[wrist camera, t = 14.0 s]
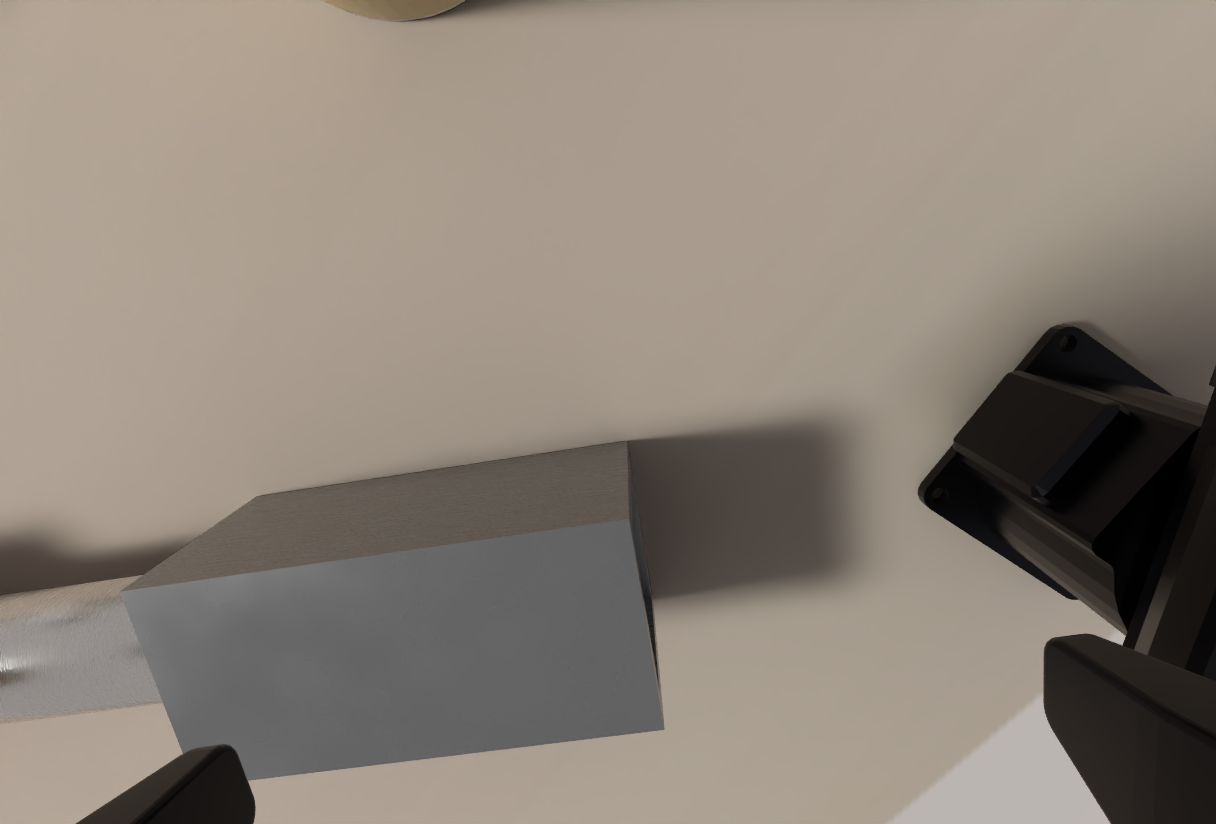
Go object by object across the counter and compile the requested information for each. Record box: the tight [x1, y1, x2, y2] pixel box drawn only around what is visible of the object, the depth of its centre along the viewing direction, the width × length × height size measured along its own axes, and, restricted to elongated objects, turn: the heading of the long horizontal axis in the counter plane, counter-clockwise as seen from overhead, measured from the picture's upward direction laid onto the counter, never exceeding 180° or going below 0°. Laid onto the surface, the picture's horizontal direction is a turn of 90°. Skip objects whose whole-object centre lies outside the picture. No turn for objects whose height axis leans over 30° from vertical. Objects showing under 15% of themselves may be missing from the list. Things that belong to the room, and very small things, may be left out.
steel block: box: [119, 441, 664, 780], centre depth 18 cm, size 12×6×6 cm, turn 99°
